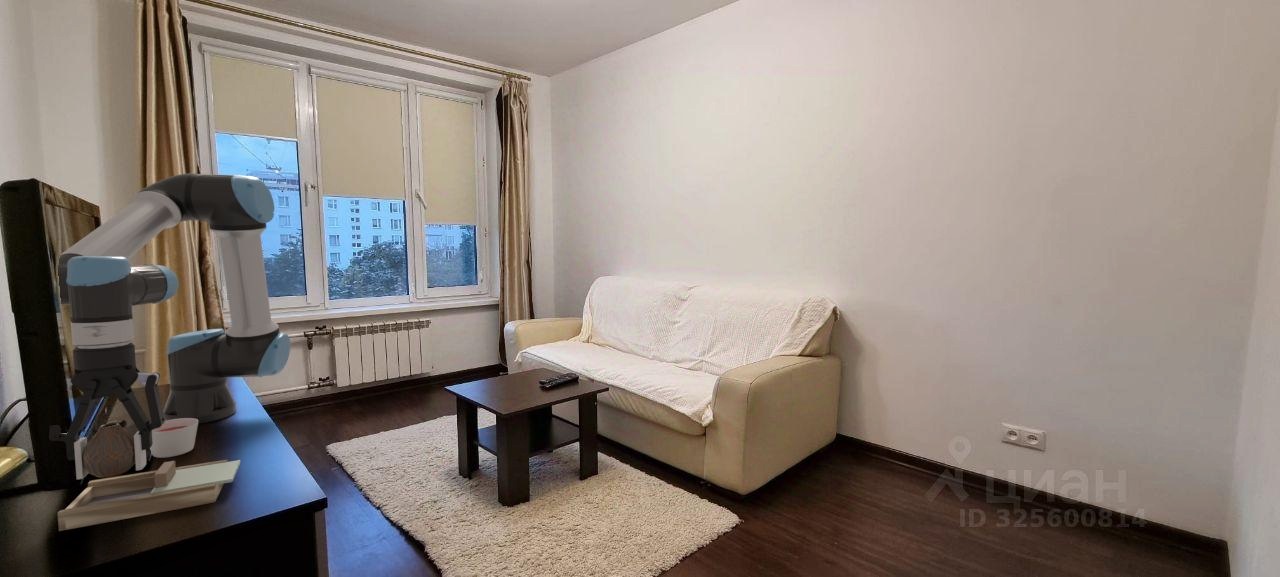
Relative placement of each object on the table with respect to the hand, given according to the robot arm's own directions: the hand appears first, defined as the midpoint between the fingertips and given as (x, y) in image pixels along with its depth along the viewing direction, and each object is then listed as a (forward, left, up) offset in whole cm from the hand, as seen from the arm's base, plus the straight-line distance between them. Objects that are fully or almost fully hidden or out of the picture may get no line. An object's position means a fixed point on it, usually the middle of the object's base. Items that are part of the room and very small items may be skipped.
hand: (112, 471), depth 91 cm
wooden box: (0, +5, -7) cm, 8 cm away
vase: (0, 0, 0) cm, 0 cm away
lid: (0, +12, -4) cm, 12 cm away
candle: (-26, +3, -7) cm, 27 cm away
